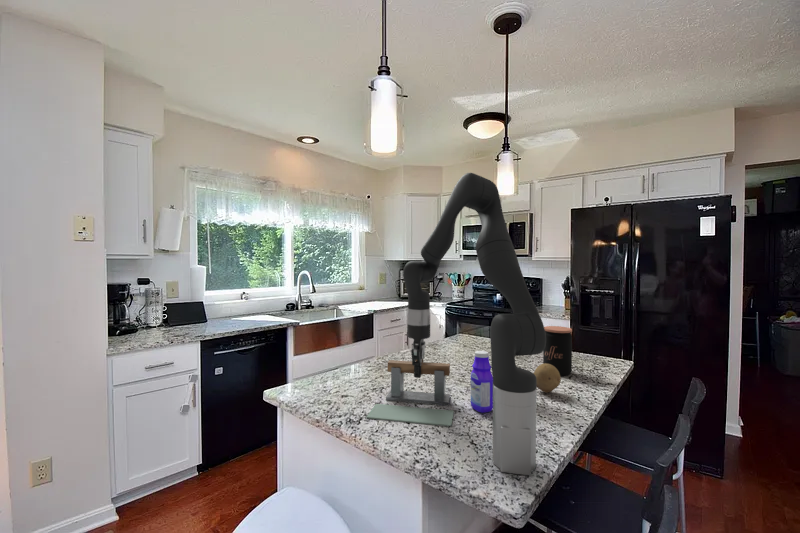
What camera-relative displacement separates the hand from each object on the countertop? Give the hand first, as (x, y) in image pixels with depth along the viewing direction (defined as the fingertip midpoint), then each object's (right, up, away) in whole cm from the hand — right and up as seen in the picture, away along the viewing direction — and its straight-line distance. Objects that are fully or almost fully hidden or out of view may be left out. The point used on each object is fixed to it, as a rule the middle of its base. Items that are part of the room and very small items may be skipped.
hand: (418, 375), depth 120 cm
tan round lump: (+44, -8, +6) cm, 45 cm away
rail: (0, +1, 0) cm, 1 cm away
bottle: (+19, -8, -8) cm, 22 cm away
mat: (-3, -8, -12) cm, 15 cm away
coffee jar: (+58, -8, +30) cm, 65 cm away
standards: (0, -8, 0) cm, 8 cm away
